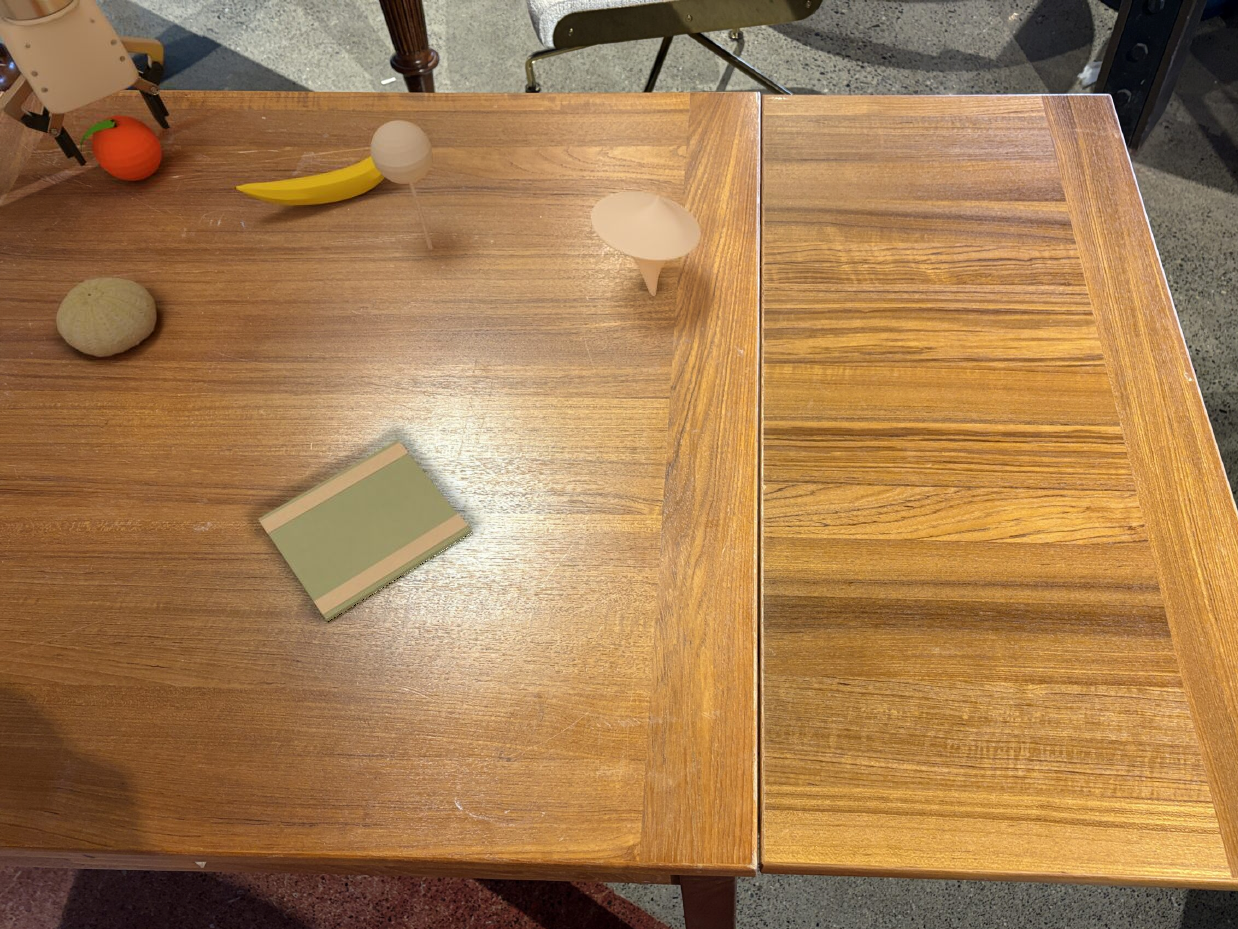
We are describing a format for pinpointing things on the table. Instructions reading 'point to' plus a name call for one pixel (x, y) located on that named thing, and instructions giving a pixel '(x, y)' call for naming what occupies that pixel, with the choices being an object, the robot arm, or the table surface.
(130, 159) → the clementine
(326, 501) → the towel
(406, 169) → the lollipop
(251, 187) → the banana
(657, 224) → the mushroom
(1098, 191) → the table surface
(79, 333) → the sea urchin shell
